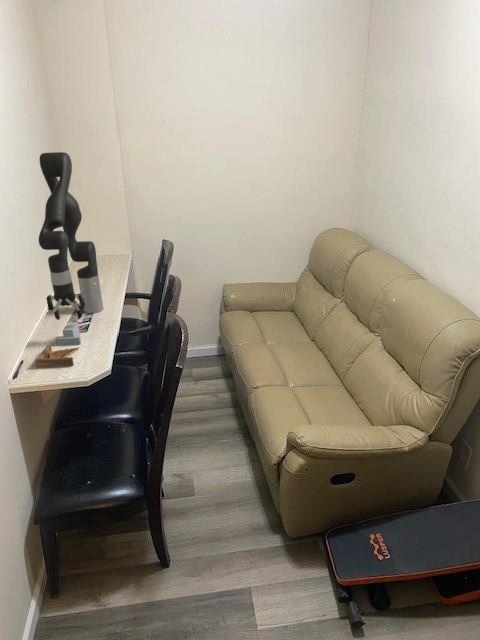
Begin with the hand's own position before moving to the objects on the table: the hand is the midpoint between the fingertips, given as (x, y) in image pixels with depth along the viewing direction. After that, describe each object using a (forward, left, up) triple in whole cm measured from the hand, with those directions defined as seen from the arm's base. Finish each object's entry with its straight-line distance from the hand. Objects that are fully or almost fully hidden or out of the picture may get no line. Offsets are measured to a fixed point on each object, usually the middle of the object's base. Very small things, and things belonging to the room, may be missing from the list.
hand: (69, 318), depth 192 cm
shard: (+14, -1, -10) cm, 17 cm away
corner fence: (+19, 0, -9) cm, 21 cm away
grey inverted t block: (0, 0, -9) cm, 9 cm away
